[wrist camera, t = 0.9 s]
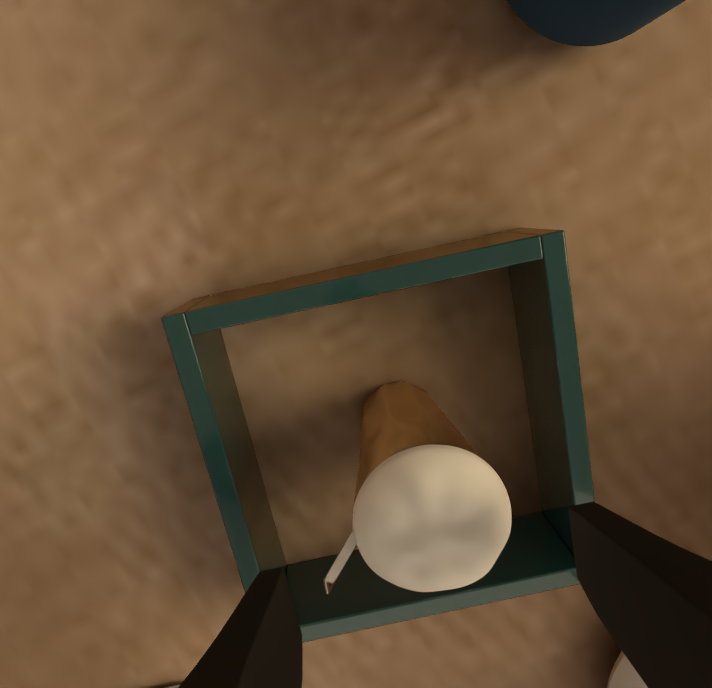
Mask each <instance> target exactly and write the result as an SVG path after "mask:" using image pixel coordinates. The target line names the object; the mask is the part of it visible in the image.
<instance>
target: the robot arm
mask: <svg viewBox="0 0 712 688" xmlns="http://www.w3.org/2000/svg"><path fill="white" fill-rule="evenodd" d="M568 509H569V517H570V525H571V533H572V541H573V549H574V557H575V565H576V573H577V578H578V580H579V582H580V584H581V586H582V588H583V589H584V591H585V593H586V595H587V597H588V599H589V601H590V603H591V604H592V606H593V608H594V610H595V612H596V614H597V615H598V617H599V618H600V620H601V621H602V623H603V624H604V626H605V627H606V629H607V630H608V631H609V633H610V634H611V636H612V637H613V639H614V640H615V642H616V643H617V644H618V646H619V647H620V649H621V650H622V652H623V653H624V654H625V656H626V657H627V659H628V660H629V662H630V663H631V664H632V666H633V667H634V669H635V670H636V671H637V673H638V674H639V676H640V677H641V679H642V680H643V681H644V683H645V684H646V686H647V687H648V688H712V561H710V560H708V559H705V558H703V557H701V556H699V555H697V554H694V553H692V552H690V551H688V550H686V549H683V548H681V547H679V546H677V545H675V544H673V543H671V542H669V541H667V540H665V539H663V538H661V537H659V536H657V535H655V534H653V533H651V532H649V531H647V530H646V529H644V528H642V527H640V526H638V525H636V524H634V523H632V522H630V521H629V520H627V519H625V518H623V517H621V516H619V515H617V514H616V513H614V512H612V511H610V510H608V509H606V508H604V507H603V506H601V505H599V504H597V503H595V502H588V503H583V504H579V505H574V506H569V507H568ZM301 687H302V633H301V629H300V626H299V622H298V619H297V615H296V611H295V608H294V604H293V601H292V597H291V594H290V590H289V587H288V583H287V580H286V576H285V572H284V569H283V567H281V568H276V569H272V570H267V571H262V572H259V573H258V575H257V576H256V577H255V579H254V581H253V582H252V584H251V585H250V587H249V588H248V590H247V591H246V593H245V595H244V596H243V598H242V599H241V601H240V603H239V604H238V606H237V607H236V609H235V610H234V612H233V613H232V615H231V617H230V618H229V620H228V621H227V622H226V624H225V625H224V627H223V628H222V630H221V631H220V633H219V634H218V636H217V637H216V639H215V640H214V642H213V643H212V644H211V646H210V647H209V649H208V650H207V651H206V653H205V654H204V655H203V657H202V658H201V659H200V661H199V662H198V663H197V665H196V666H195V667H194V669H193V670H192V671H191V672H190V674H189V675H188V676H187V677H186V679H185V680H184V681H183V682H182V683H181V685H175V686H170V687H166V688H301Z"/></svg>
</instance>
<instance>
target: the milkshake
mask: <svg viewBox="0 0 712 688" xmlns="http://www.w3.org/2000/svg"><path fill="white" fill-rule="evenodd" d="M352 522H353V530H352V532H351V534H350V535H349V537H348V539H347V541H346V542H345V544H344V546H343V547H342V549H341V551H340V552H339V554H338V556H337V558H336V559H335V561H334V563H333V564H332V566H331V568H330V569H329V571H328V573H327V575H326V576H325V578H324V586H325V590H326V593H327V594H329V592H330V591H331V589H332V587H333V585H334V583H335V582H336V580H337V578H338V576H339V575H340V573H341V571H342V569H343V567H344V566H345V564H346V562H347V560H348V558H349V557H350V555H351V553H352V551H353V549H354V548H355V546H356V544H357V547H358V549H359V551H360V553H361V555H362V557H363V559H364V560H365V562H366V563H367V565H368V566H369V567H370V568H371V569H372V570H373V571H374V572H375V573H376V574H377V575H378V576H380V577H381V578H383V579H385V580H386V581H388V582H390V583H392V584H394V585H397V586H399V587H402V588H405V589H408V590H412V591H417V592H434V591H443V590H450V589H456V588H460V587H464V586H467V585H469V584H472V583H474V582H476V581H477V580H479V579H481V578H482V577H483V576H485V575H486V574H487V573H488V572H489V571H490V569H491V568H492V567H493V565H494V563H495V562H496V560H497V558H498V556H499V555H500V553H501V551H502V550H503V548H504V546H505V544H506V542H507V540H508V538H509V535H510V531H511V523H512V515H511V505H510V500H509V496H508V493H507V490H506V488H505V486H504V484H503V482H502V480H501V478H500V477H499V475H498V474H497V473H496V472H495V470H494V469H493V468H492V467H491V466H490V465H489V464H488V463H487V462H486V460H485V459H484V458H483V457H482V456H481V455H480V454H479V453H478V452H477V451H476V450H475V449H474V447H473V446H472V445H471V444H470V443H469V442H468V441H467V440H466V439H465V438H464V437H463V435H462V434H461V433H460V432H459V431H458V429H457V428H456V427H455V426H454V425H453V423H452V422H451V421H450V420H449V418H448V417H447V416H446V415H445V413H444V412H443V411H442V410H441V409H440V407H439V406H438V405H437V404H436V402H435V401H434V400H433V399H432V398H431V396H430V395H429V394H428V393H427V392H426V391H425V390H423V389H421V388H418V387H416V386H414V385H412V384H410V383H407V382H405V381H403V382H398V383H392V384H387V385H381V386H380V387H379V388H378V389H377V390H376V391H375V392H374V393H373V394H372V395H371V396H370V397H369V398H368V399H367V400H366V401H365V402H364V408H363V415H362V421H361V432H360V454H359V468H358V474H357V482H356V491H355V500H354V508H353V517H352Z"/></svg>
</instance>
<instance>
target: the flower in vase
mask: <svg viewBox="0 0 712 688" xmlns="http://www.w3.org/2000/svg"><path fill="white" fill-rule="evenodd" d="M607 688H648V687H647V686H646V684H645V683H644V681H643V680H642V679H641V677H640V676H639V674H638V673H637V671H636V670H635V669H634V667H633V666H632V664H631V663H630V662H629V660H628V659H627V657H626V656H625V654H624V653H623V652H622V651H621V653H620V655H619V657H618V658H617V660H616V662H615V664H614V666H613V669H612V671H611V674H610V677H609V681H608V685H607Z"/></svg>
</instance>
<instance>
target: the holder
mask: <svg viewBox="0 0 712 688" xmlns="http://www.w3.org/2000/svg"><path fill="white" fill-rule="evenodd" d="M507 266H508V267H509V275H510V282H511V289H512V296H513V303H514V310H515V317H516V325H517V332H518V339H519V346H520V353H521V360H522V367H523V375H524V382H525V389H526V396H527V403H528V410H529V417H530V424H531V432H532V439H533V446H534V453H535V460H536V467H537V474H538V482H539V489H540V496H541V503H542V510H543V512H537V513H532V514H527V515H522V516H518V517H513V518H512V523H511V531H510V535H509V538H508V540H507V542H506V544H505V546H504V548H503V550H502V551H501V553H500V555H499V556H498V558H497V560H496V562H495V563H494V565H493V567H492V568H491V569H490V571H489V572H488V573H487V574H486V575H485V576H483V577H482V578H481V579H479V580H477V581H476V582H474V583H472V584H469V585H467V586H464V587H460V588H456V589H450V590H443V591H434V592H417V591H412V590H408V589H405V588H402V587H399V586H397V585H394V584H392V583H390V582H388V581H386V580H385V579H383V578H381V577H380V576H378V575H377V574H376V573H375V572H374V571H373V570H372V569H371V568H370V567H369V566H368V565H367V563H366V562H365V560H364V559H363V557H362V555H361V553H360V551H359V550H357V551H353V552H352V553H351V555H350V557H349V558H348V560H347V562H346V564H345V566H344V567H343V569H342V571H341V573H340V575H339V576H338V578H337V580H336V582H335V583H334V585H333V587H332V589H331V591H330V592H329V594H327V593H326V590H325V586H324V578H325V576H326V575H327V573H328V571H329V569H330V568H331V566H332V564H333V563H334V561H335V559H336V558H337V556H338V555H334V556H329V557H324V558H320V559H315V560H310V561H306V562H301V563H296V564H291V565H288V566H286V563H285V559H284V555H283V552H282V548H281V545H280V541H279V538H278V534H277V530H276V527H275V523H274V520H273V516H272V513H271V509H270V505H269V502H268V498H267V495H266V491H265V488H264V484H263V480H262V477H261V473H260V470H259V466H258V463H257V459H256V455H255V452H254V448H253V445H252V441H251V438H250V434H249V430H248V427H247V423H246V420H245V416H244V413H243V409H242V405H241V402H240V398H239V395H238V391H237V388H236V384H235V380H234V377H233V373H232V370H231V366H230V363H229V359H228V355H227V352H226V348H225V345H224V341H223V338H222V334H221V330H220V329H221V328H225V327H230V326H234V325H239V324H244V323H248V322H253V321H258V320H262V319H267V318H271V317H276V316H281V315H285V314H290V313H295V312H299V311H304V310H308V309H313V308H318V307H322V306H327V305H332V304H336V303H341V302H345V301H350V300H355V299H359V298H364V297H369V296H373V295H378V294H382V293H387V292H392V291H396V290H401V289H406V288H410V287H415V286H419V285H424V284H429V283H433V282H438V281H443V280H447V279H452V278H456V277H461V276H466V275H470V274H475V273H480V272H484V271H489V270H494V269H498V268H503V267H507ZM161 319H162V323H163V326H164V329H165V332H166V336H167V339H168V342H169V345H170V349H171V352H172V355H173V358H174V362H175V365H176V368H177V372H178V375H179V378H180V381H181V385H182V388H183V391H184V394H185V398H186V401H187V404H188V407H189V411H190V414H191V417H192V421H193V424H194V427H195V430H196V434H197V437H198V440H199V443H200V447H201V450H202V453H203V456H204V460H205V463H206V466H207V470H208V473H209V476H210V479H211V483H212V486H213V489H214V492H215V496H216V499H217V502H218V505H219V509H220V512H221V515H222V519H223V522H224V525H225V528H226V532H227V535H228V538H229V541H230V545H231V548H232V551H233V554H234V558H235V561H236V564H237V568H238V571H239V574H240V577H241V581H242V584H243V587H244V590H245V593H246V591H247V590H248V588H249V587H250V585H251V584H252V582H253V581H254V579H255V577H256V576H257V575H258V573H259V572H262V571H267V570H272V569H276V568H281V567H283V569H284V572H285V576H286V580H287V583H288V587H289V590H290V594H291V597H292V601H293V604H294V608H295V611H296V615H297V619H298V622H299V626H300V629H301V633H302V642H307V641H312V640H317V639H321V638H326V637H331V636H335V635H340V634H345V633H350V632H354V631H359V630H364V629H369V628H373V627H378V626H383V625H388V624H392V623H397V622H402V621H407V620H411V619H416V618H421V617H426V616H430V615H435V614H440V613H445V612H449V611H454V610H459V609H463V608H468V607H473V606H478V605H482V604H487V603H492V602H497V601H501V600H506V599H511V598H516V597H520V596H525V595H530V594H535V593H539V592H544V591H549V590H554V589H558V588H563V587H568V586H573V585H577V584H580V582H579V580H578V578H577V573H576V565H575V557H574V549H573V541H572V533H571V525H570V517H569V509H568V507H569V506H574V505H579V504H583V503H588V502H595V500H594V491H593V482H592V474H591V465H590V456H589V447H588V438H587V429H586V420H585V411H584V403H583V394H582V385H581V376H580V367H579V358H578V349H577V340H576V332H575V323H574V314H573V305H572V296H571V287H570V278H569V269H568V261H567V252H566V243H565V234H564V231H563V230H552V229H535V228H517V229H513V230H508V231H505V232H499V233H494V234H490V235H485V236H480V237H476V238H471V239H466V240H462V241H457V242H453V243H448V244H443V245H439V246H434V247H430V248H425V249H420V250H416V251H411V252H406V253H402V254H397V255H393V256H388V257H383V258H379V259H374V260H370V261H365V262H360V263H356V264H351V265H346V266H342V267H337V268H333V269H328V270H323V271H319V272H314V273H310V274H305V275H300V276H296V277H291V278H286V279H282V280H277V281H273V282H268V283H263V284H259V285H254V286H250V287H245V288H240V289H236V290H231V291H226V292H222V293H217V294H213V295H211V296H210V295H208V296H203V297H199V298H194V299H192V300H190V301H188V302H187V303H185V304H183V305H181V306H180V307H178V308H176V309H175V310H173V311H171V312H170V313H168V314H166V315H164V316H163V317H162V318H161Z"/></svg>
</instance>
